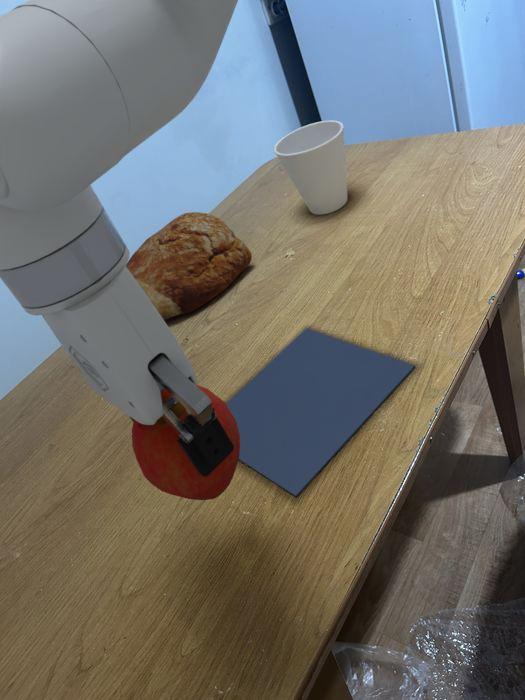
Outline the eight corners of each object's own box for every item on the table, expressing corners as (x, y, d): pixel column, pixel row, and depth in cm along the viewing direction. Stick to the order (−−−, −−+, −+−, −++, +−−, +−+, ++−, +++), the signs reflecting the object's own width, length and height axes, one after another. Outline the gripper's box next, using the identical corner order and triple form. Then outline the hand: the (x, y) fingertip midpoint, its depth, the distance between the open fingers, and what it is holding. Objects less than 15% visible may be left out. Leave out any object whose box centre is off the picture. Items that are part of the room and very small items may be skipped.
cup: (287, 226, 101) (263, 160, 93) (308, 191, 108) (287, 128, 101) (351, 218, 95) (331, 146, 87) (369, 182, 102) (351, 114, 95)
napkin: (415, 367, 64) (415, 365, 64) (296, 497, 56) (295, 495, 56) (307, 329, 76) (306, 328, 76) (197, 433, 68) (196, 431, 68)
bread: (259, 265, 94) (237, 211, 88) (178, 335, 86) (147, 281, 80) (187, 248, 108) (163, 201, 102) (112, 307, 101) (81, 259, 95)
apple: (247, 535, 45) (186, 446, 39) (158, 530, 49) (90, 448, 43) (275, 449, 51) (227, 359, 45) (194, 450, 55) (139, 368, 49)
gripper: (-27, 272, 41) (100, 433, 51) (72, 327, 29) (215, 526, 39) (59, 216, 44) (163, 378, 54) (183, 242, 31) (290, 448, 41)
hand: (185, 439), depth 46 cm, fingers closed on apple, 8 cm apart
